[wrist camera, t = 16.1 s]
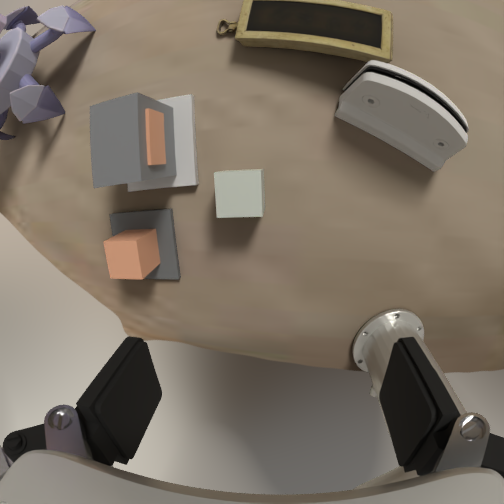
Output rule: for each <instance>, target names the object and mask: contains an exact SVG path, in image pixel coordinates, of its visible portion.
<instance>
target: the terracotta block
mask: <svg viewBox="0 0 504 504" xmlns="http://www.w3.org/2000/svg"><path fill="white" fill-rule="evenodd" d="M104 247H105V253H106V258H107V263H108V268H109V273H110V278H114V279H144V278H145V277H146V276H147V275H148V274H149V273H150V272H151V271H152V270H153V269H155V268H156V267H157V266H158V265H159V264H160V256H159V249H158V241H157V233H156V229H137V230H125V231H123V232H121V233H119V234H117V235H115V236H113V237H111V238H109V239H108V240H106V241H104Z"/></svg>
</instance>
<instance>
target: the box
mask: <svg viewBox="0 0 504 504" xmlns="http://www.w3.org/2000/svg"><path fill="white" fill-rule="evenodd" d="M224 22H227V23H228V24H229V27H228V29H226V30H225V31H223V32H220V31H221V26H222V24H223V23H224ZM236 30H237V31H236ZM228 31H229V32H232V33H233V32H235V31H236V35H235V39H236V40H237V41H239V42H240V43H241V44H242V45H243V46H245V47H272V48H286V49H296V50H304V51H312V52H319V53H325V54H331V55H336V56H342V57H347V58H352V59H357V60H361V61H365V62H368V61H370V60H376V61H380V62H384V63H387V64H388V63H389V62H390V61H392V55H393V14H392V13H391V12H390V11H387V10H383V9H379V8H375V7H370V6H366V5H361V4H356V3H351V2H345V1H340V0H244V1H243V4H242V8H241V13H240V17H239V21H238V23H236V22H229V21H227V20H226V19H221V20H220V21H219V23H218V26H217V32H218V34H219V35H224V34H226V33H227V32H228Z"/></svg>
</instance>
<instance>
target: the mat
mask: <svg viewBox="0 0 504 504" xmlns="http://www.w3.org/2000/svg"><path fill="white" fill-rule="evenodd" d="M110 222H111V229H112V235H113V236H115V235H117V234H119V233H121V232H123V231H125V230H137V229H156V233H157V241H158V249H159V256H160V264H159V265H158V266H157V267H156V268H155V269H153V270H152V271H151V272H150V273H149V274H148V275H147V276H146V277H145V278H144V279H180V277H181V276H180V269H179V261H178V254H177V246H176V238H175V229H174V220H173V211H172V209H159V210H146V211H134V212H123V213H112V214H110Z"/></svg>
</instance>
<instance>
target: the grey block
mask: <svg viewBox="0 0 504 504" xmlns="http://www.w3.org/2000/svg"><path fill="white" fill-rule="evenodd" d="M214 180H215V197H216V213H217V218H229V217H263V213H264V210H265V191H264V169H250V170H229V171H220V172H214Z"/></svg>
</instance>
